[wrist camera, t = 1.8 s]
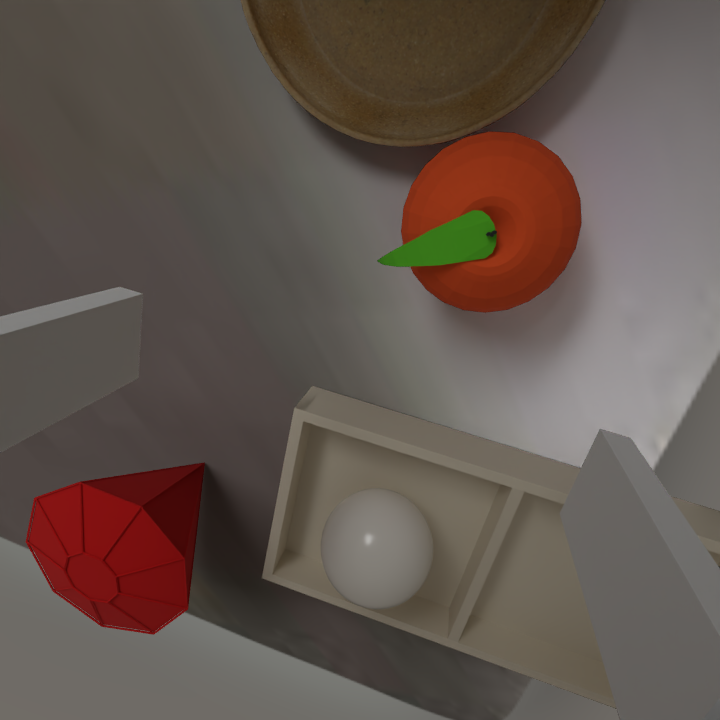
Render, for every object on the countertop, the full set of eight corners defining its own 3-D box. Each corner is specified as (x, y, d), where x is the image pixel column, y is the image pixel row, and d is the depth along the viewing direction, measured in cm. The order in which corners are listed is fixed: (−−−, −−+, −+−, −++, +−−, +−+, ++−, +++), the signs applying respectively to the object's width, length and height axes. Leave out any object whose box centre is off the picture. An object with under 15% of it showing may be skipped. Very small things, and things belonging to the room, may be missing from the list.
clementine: (412, 314, 24) (391, 360, 18) (372, 179, 22) (332, 174, 16) (576, 271, 22) (622, 304, 15) (546, 115, 20) (582, 78, 13)
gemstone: (256, 400, 28) (152, 501, 19) (277, 521, 31) (195, 660, 22) (129, 398, 30) (-20, 488, 21) (160, 512, 33) (39, 635, 24)
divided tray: (312, 385, 27) (294, 407, 24) (747, 519, 24) (783, 562, 21) (280, 544, 31) (261, 578, 29) (641, 673, 28) (659, 724, 26)
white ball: (348, 453, 27) (317, 520, 21) (449, 486, 26) (444, 564, 21) (328, 532, 29) (295, 611, 24) (421, 564, 28) (409, 654, 23)
